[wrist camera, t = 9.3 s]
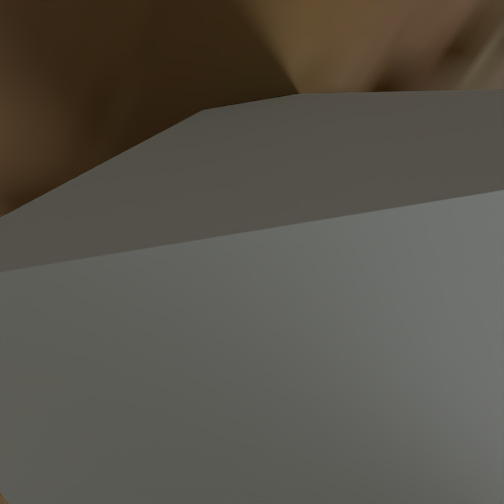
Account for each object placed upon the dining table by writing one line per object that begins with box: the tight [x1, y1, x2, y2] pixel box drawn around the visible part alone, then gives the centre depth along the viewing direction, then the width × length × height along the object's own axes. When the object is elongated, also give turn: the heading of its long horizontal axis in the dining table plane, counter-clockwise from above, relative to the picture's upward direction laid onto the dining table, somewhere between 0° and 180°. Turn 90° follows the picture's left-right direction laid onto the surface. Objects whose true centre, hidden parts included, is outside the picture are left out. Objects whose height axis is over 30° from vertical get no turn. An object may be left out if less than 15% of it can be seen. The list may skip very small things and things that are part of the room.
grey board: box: [0, 89, 504, 504], centre depth 13 cm, size 18×5×18 cm, turn 9°
